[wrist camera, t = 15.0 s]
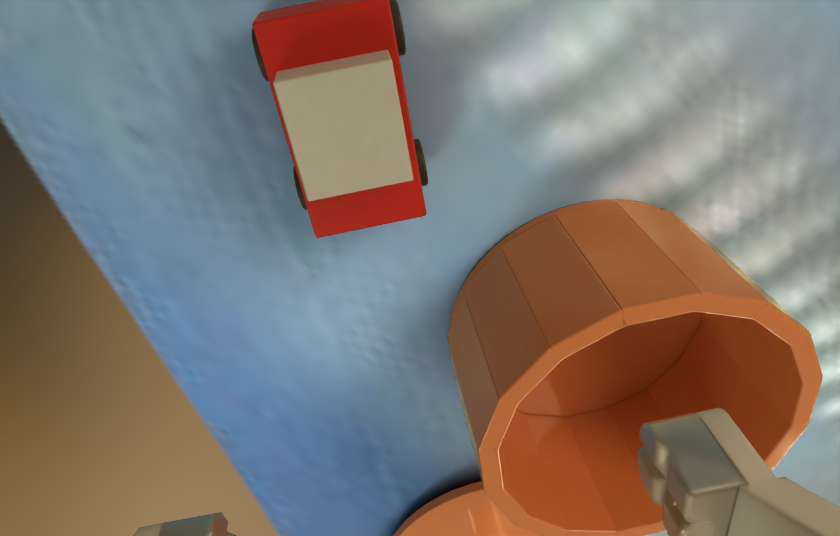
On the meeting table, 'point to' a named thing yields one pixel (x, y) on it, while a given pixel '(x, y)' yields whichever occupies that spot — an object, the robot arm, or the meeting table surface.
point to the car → (344, 110)
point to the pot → (614, 361)
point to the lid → (461, 516)
